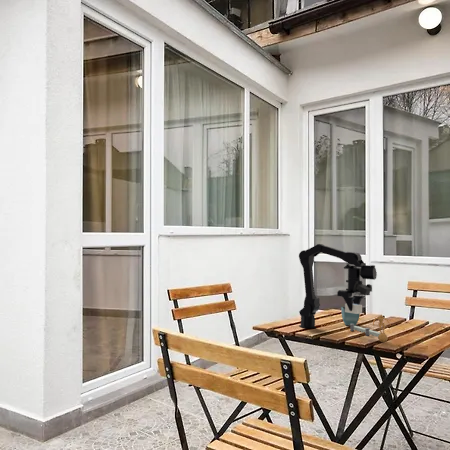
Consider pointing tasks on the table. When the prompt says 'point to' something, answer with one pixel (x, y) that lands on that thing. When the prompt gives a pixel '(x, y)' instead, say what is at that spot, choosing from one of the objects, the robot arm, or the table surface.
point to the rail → (364, 330)
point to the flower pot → (349, 317)
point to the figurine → (382, 336)
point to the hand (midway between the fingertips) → (353, 310)
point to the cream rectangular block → (354, 309)
